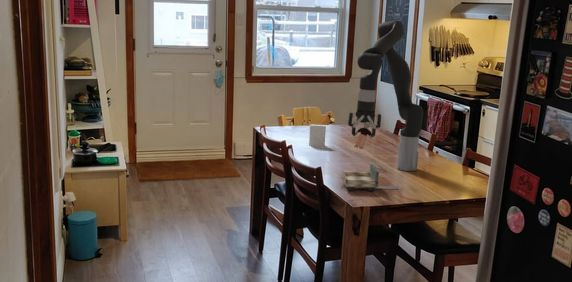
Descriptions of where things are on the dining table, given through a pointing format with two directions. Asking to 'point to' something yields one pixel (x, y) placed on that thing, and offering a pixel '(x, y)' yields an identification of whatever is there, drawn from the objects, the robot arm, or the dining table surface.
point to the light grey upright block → (317, 136)
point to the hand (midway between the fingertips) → (363, 136)
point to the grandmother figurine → (363, 135)
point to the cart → (361, 179)
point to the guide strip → (375, 187)
